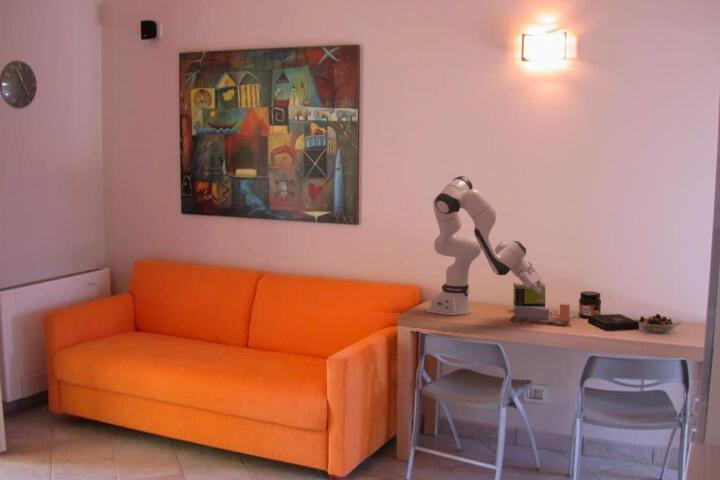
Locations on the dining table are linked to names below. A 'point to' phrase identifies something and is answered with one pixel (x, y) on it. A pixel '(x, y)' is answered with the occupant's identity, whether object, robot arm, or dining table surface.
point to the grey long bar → (532, 312)
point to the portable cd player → (613, 322)
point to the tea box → (528, 296)
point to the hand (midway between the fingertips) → (541, 290)
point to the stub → (564, 312)
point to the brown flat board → (540, 321)
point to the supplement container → (589, 304)
